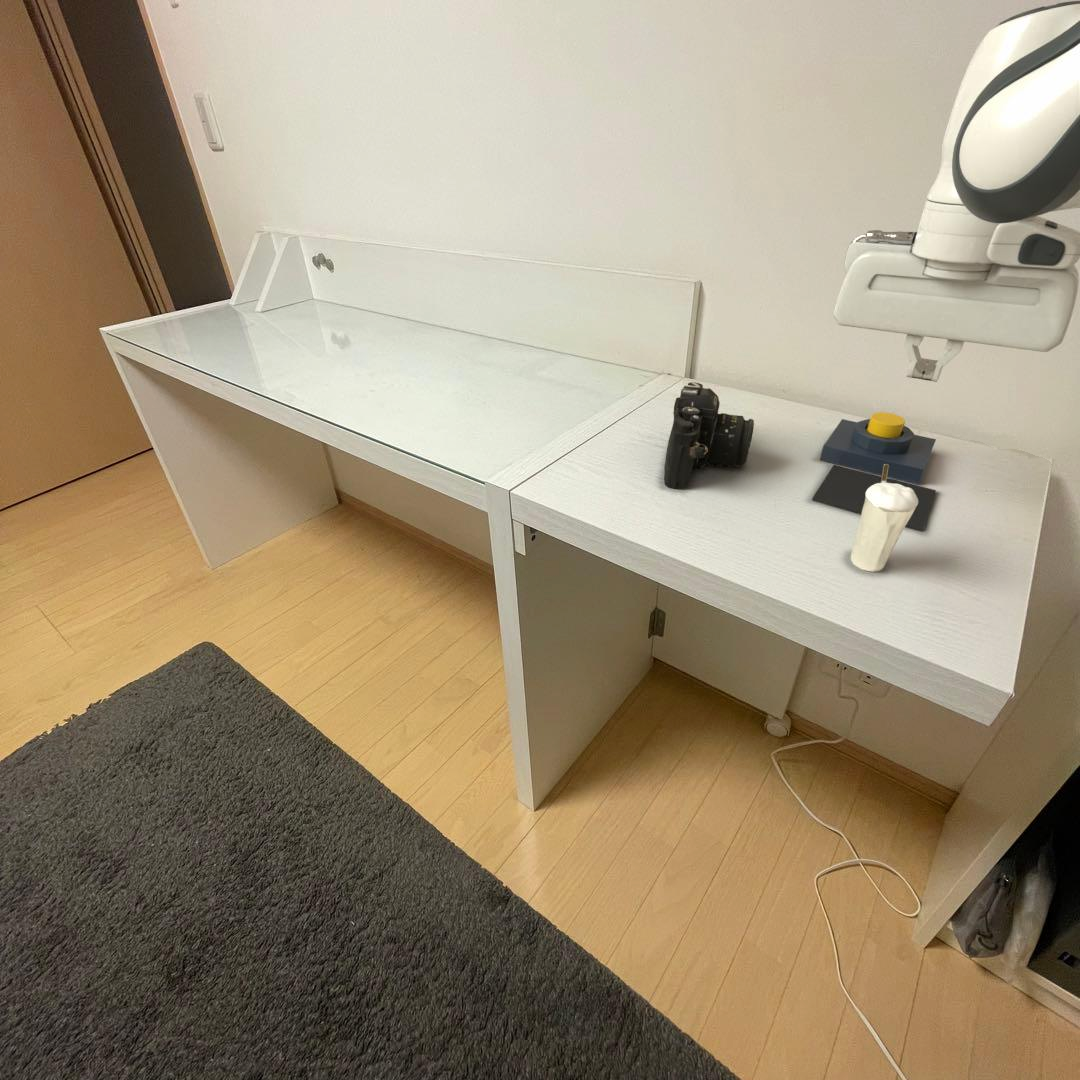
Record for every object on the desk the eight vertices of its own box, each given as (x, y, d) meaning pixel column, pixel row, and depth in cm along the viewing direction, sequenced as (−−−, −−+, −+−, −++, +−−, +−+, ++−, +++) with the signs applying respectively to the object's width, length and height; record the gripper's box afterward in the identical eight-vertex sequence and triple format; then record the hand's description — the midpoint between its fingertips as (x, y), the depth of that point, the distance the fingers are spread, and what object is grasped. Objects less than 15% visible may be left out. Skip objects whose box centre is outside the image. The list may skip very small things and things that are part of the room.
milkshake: (879, 546, 66) (910, 465, 60) (897, 577, 62) (933, 493, 56) (836, 544, 67) (862, 463, 61) (851, 575, 62) (881, 491, 57)
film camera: (768, 495, 75) (786, 420, 70) (668, 497, 75) (677, 422, 69) (729, 431, 90) (741, 365, 84) (646, 433, 90) (652, 367, 84)
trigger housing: (930, 453, 83) (941, 426, 81) (918, 484, 77) (929, 456, 74) (838, 432, 89) (845, 407, 87) (819, 460, 82) (826, 433, 80)
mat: (934, 492, 75) (936, 490, 75) (921, 531, 68) (923, 528, 68) (832, 467, 81) (833, 464, 80) (811, 500, 74) (812, 497, 74)
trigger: (902, 430, 81) (907, 416, 80) (897, 442, 78) (902, 427, 77) (870, 424, 83) (874, 409, 82) (863, 434, 80) (868, 420, 79)
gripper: (843, 233, 60) (813, 369, 68) (1106, 249, 50) (1034, 407, 58) (860, 224, 64) (829, 353, 72) (1105, 236, 54) (1038, 386, 62)
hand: (922, 378), depth 65 cm, fingers closed
